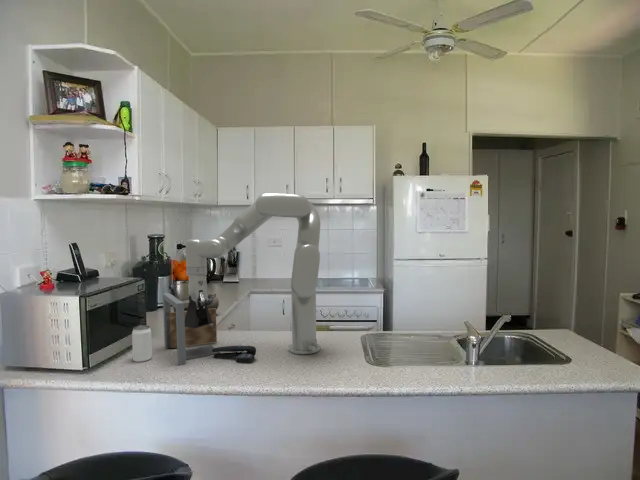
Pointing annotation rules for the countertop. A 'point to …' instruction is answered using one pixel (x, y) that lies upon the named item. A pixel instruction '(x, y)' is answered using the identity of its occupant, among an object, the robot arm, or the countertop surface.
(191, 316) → the phone stand
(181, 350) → the door frame
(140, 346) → the can
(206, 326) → the gate door
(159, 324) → the countertop surface
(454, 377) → the countertop surface
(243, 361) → the can opener
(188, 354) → the rubber mat
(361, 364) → the countertop surface
